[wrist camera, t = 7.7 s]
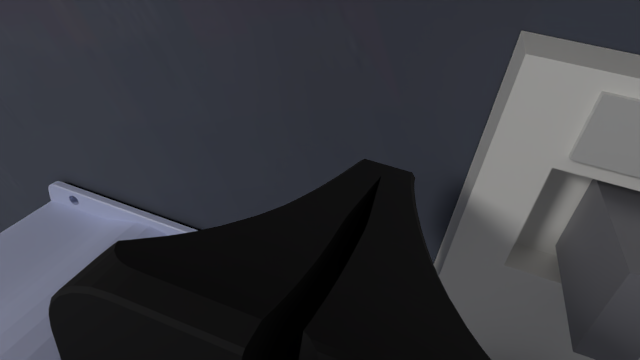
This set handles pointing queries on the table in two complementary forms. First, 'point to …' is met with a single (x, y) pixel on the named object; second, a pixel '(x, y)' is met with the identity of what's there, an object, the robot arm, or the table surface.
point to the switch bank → (537, 190)
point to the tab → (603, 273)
